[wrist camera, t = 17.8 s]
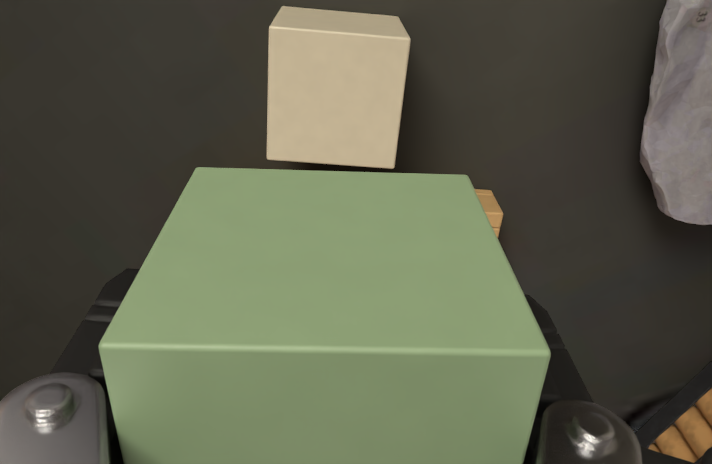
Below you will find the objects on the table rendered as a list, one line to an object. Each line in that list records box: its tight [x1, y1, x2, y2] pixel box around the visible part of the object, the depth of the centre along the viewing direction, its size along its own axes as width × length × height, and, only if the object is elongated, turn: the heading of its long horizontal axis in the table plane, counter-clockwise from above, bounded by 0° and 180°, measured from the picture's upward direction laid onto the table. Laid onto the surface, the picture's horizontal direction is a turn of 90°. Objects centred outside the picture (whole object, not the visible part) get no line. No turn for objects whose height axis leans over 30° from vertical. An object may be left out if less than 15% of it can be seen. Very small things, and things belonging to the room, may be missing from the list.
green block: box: [99, 167, 551, 464], centre depth 10 cm, size 5×5×5 cm
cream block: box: [267, 6, 411, 169], centre depth 24 cm, size 5×5×5 cm
